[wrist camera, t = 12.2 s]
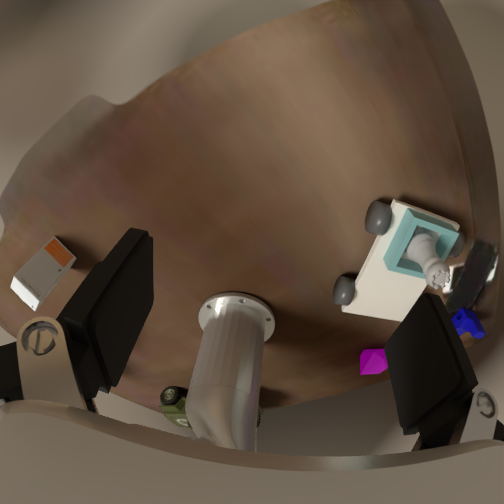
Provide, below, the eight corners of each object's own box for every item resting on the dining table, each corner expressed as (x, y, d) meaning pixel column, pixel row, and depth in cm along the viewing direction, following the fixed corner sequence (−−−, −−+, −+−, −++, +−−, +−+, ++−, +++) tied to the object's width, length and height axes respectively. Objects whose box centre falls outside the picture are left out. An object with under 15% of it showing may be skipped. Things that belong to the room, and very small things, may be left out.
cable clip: (461, 306, 43) (473, 329, 38) (473, 311, 44) (485, 333, 39) (424, 347, 50) (432, 370, 45) (438, 350, 50) (446, 372, 45)
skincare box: (77, 256, 44) (40, 302, 34) (70, 268, 46) (35, 313, 36) (54, 233, 42) (13, 275, 32) (47, 247, 44) (9, 287, 34)
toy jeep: (159, 386, 66) (147, 422, 56) (250, 377, 58) (244, 422, 49) (185, 408, 71) (177, 441, 62) (270, 401, 64) (267, 441, 55)
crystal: (371, 362, 53) (375, 381, 49) (354, 354, 51) (357, 374, 48) (390, 349, 50) (395, 368, 46) (374, 340, 49) (378, 359, 45)
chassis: (405, 310, 44) (414, 334, 39) (329, 295, 43) (333, 322, 39) (458, 219, 34) (476, 239, 29) (376, 188, 33) (390, 207, 29)
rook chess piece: (434, 247, 34) (458, 286, 27) (406, 260, 35) (426, 301, 29) (428, 220, 32) (455, 257, 25) (398, 234, 33) (420, 274, 27)
